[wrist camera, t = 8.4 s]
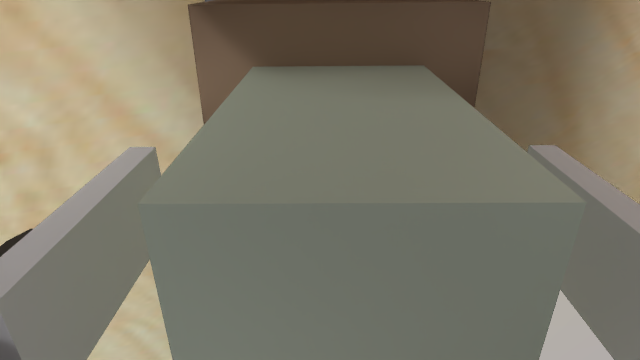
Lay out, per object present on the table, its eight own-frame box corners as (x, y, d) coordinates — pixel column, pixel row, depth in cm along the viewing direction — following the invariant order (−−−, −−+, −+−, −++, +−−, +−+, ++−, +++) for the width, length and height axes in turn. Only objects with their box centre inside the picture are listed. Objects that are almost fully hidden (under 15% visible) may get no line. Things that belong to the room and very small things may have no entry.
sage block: (252, 66, 15) (137, 203, 6) (423, 65, 15) (586, 202, 6) (264, 214, 17) (198, 470, 8) (409, 213, 17) (504, 473, 8)
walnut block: (226, -2, 19) (187, 4, 14) (443, -4, 19) (490, 2, 14) (245, 190, 23) (221, 253, 18) (422, 190, 23) (451, 253, 18)
